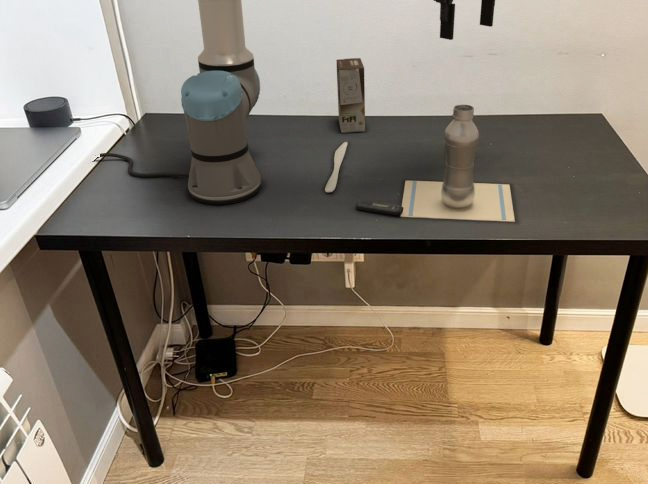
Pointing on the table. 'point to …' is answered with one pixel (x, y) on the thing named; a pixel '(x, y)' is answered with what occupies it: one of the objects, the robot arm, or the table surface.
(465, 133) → the plastic bottle
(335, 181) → the butter knife
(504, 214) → the dish towel
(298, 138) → the table surface
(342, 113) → the coffee box
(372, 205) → the usb stick
